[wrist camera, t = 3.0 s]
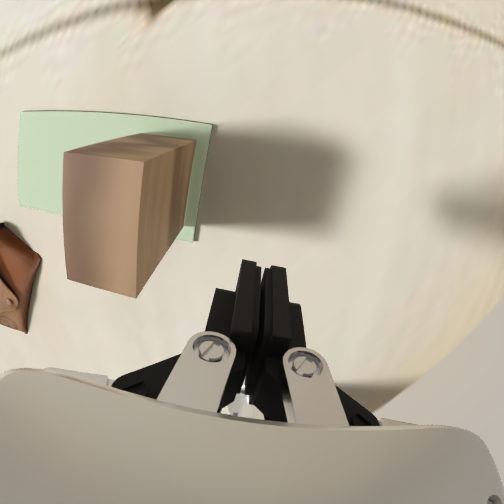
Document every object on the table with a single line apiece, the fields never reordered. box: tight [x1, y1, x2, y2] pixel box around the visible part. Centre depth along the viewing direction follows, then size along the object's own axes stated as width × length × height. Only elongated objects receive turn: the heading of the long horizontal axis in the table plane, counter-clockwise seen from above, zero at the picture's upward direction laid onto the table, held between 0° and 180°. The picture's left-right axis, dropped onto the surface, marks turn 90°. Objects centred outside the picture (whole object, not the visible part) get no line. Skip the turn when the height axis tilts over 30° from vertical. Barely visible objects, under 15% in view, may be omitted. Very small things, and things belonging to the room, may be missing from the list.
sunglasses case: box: [0, 223, 41, 334], centre depth 32 cm, size 18×7×7 cm
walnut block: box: [62, 133, 197, 298], centre depth 21 cm, size 5×8×12 cm, turn 168°
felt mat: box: [18, 111, 213, 243], centre depth 26 cm, size 22×11×1 cm, turn 78°
